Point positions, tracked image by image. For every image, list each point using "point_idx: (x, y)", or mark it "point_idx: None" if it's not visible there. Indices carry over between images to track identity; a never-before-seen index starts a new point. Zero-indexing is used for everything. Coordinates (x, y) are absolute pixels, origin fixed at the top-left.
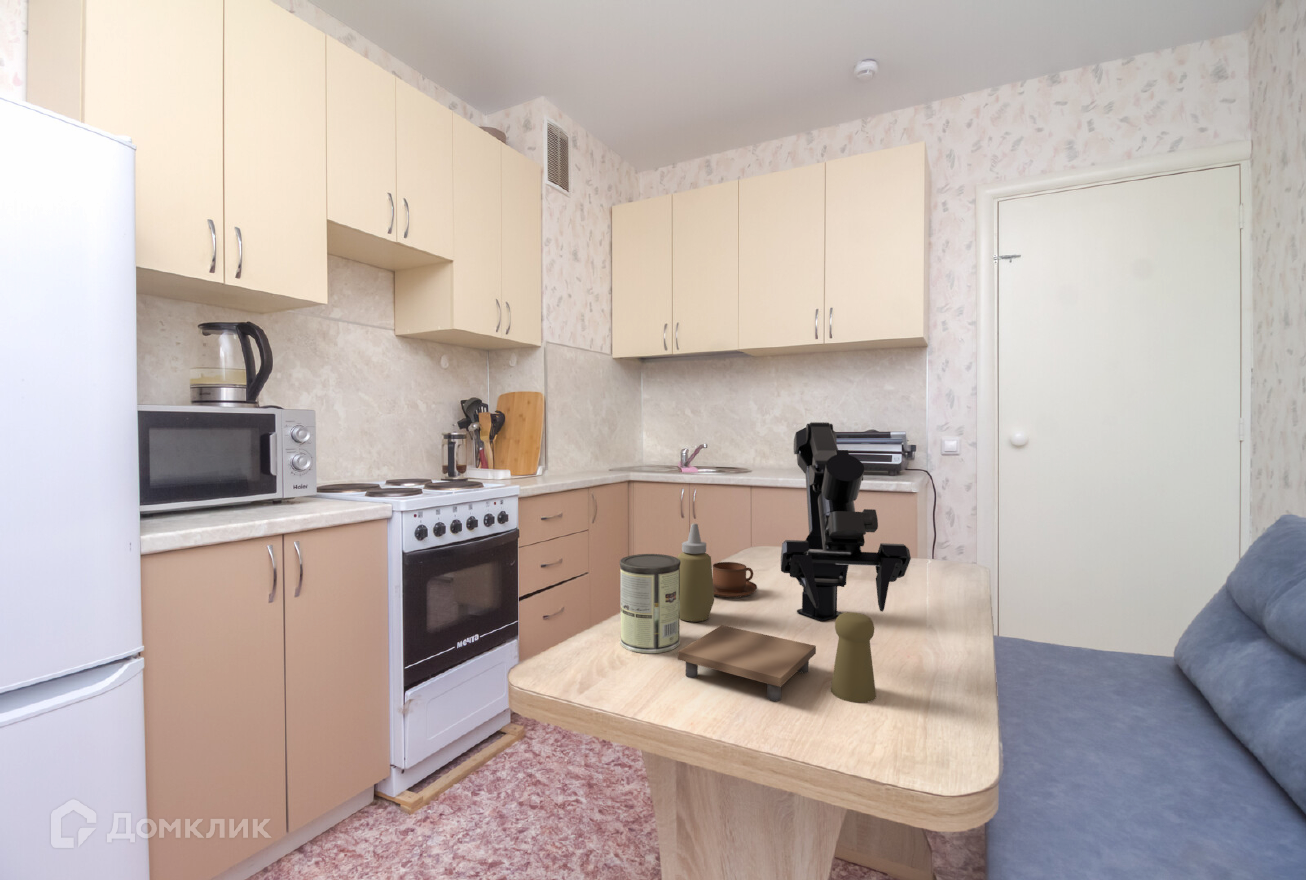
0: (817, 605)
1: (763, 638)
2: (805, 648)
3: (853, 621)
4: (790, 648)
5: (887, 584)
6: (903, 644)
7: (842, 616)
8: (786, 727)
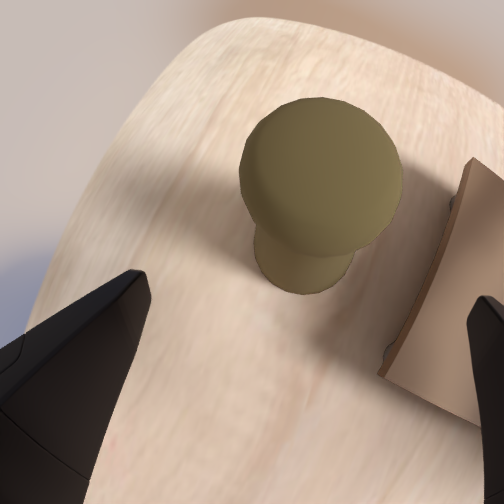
0: (482, 295)
1: None
2: (418, 349)
3: (342, 102)
4: (454, 342)
5: (18, 343)
6: (109, 496)
7: (385, 146)
8: (432, 116)
